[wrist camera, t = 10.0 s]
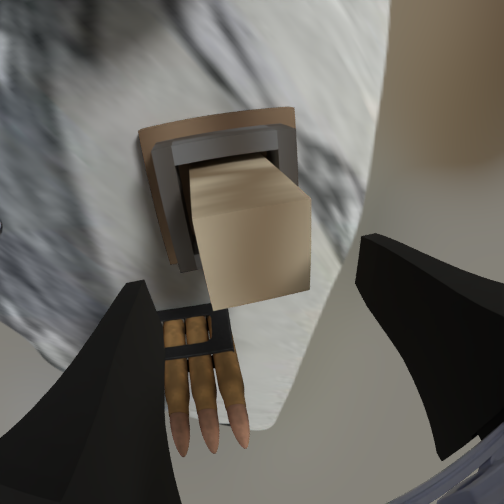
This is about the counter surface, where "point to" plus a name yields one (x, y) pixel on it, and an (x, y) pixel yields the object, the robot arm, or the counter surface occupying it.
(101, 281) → the counter surface
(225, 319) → the ammunition clip
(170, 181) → the socket
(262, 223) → the square peg
